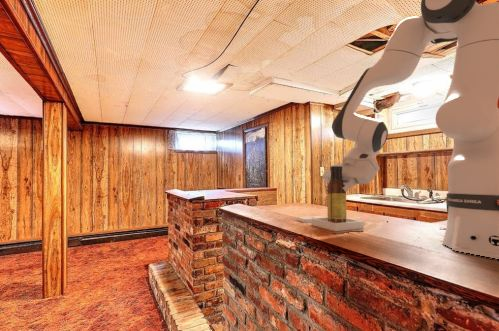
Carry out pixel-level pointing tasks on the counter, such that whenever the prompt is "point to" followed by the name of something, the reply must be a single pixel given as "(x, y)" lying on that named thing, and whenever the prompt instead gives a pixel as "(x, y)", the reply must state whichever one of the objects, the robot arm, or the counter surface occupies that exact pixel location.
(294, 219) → the slate board
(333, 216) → the sauce bottle
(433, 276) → the counter surface
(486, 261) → the counter surface
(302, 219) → the tile
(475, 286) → the counter surface
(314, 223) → the bin
